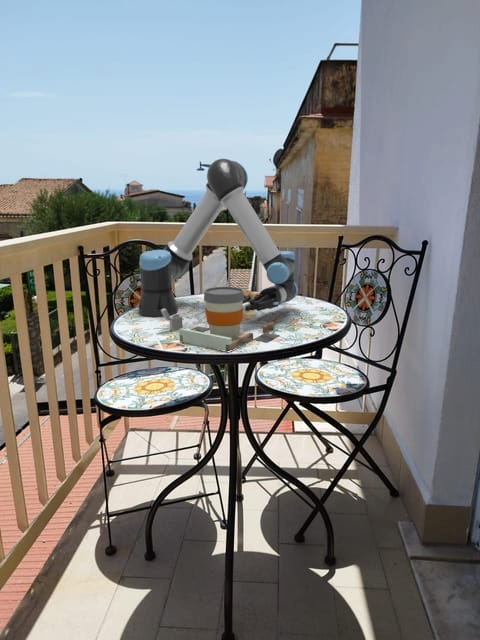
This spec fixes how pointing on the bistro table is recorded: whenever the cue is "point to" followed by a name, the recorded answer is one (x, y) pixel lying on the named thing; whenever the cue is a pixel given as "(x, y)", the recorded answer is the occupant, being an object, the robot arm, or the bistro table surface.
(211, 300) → the reusable coffee cup
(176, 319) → the lighter
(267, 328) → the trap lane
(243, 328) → the bistro table surface
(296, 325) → the bistro table surface
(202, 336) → the pale grey board
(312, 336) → the bistro table surface
